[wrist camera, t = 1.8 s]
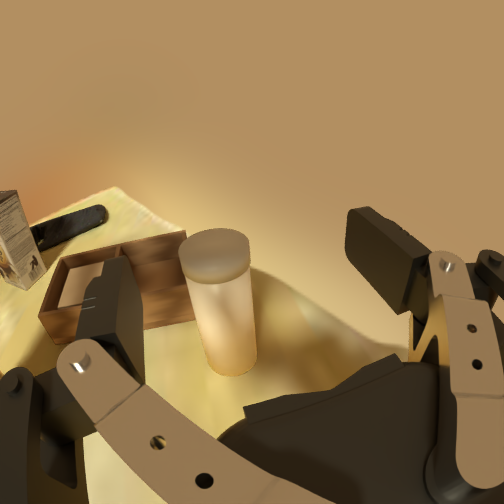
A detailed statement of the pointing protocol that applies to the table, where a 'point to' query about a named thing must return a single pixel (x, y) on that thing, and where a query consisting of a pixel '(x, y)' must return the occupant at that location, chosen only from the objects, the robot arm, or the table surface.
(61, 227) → the dark slate chunk
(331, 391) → the robot arm
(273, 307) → the table surface
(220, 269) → the sugar shaker
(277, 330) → the table surface
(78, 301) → the caddy
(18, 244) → the coffee box
